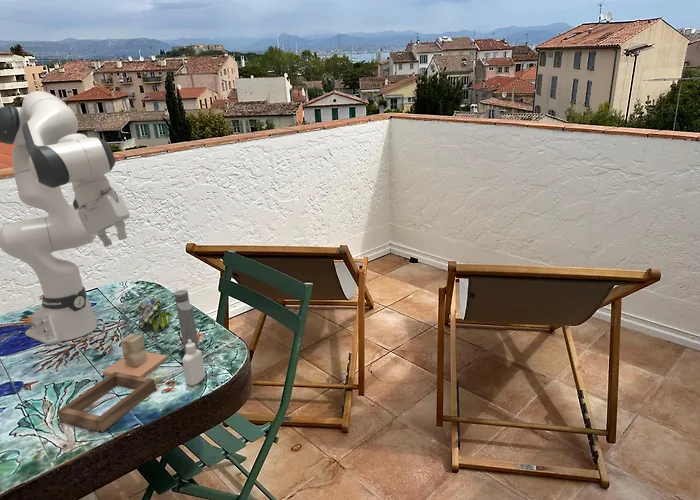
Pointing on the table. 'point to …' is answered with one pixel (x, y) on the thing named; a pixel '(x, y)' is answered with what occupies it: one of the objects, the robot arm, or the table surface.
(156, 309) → the passion flower
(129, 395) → the walnut stand
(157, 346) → the table surface
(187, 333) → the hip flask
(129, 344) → the ash post
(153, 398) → the table surface
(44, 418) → the table surface
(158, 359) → the terracotta tile
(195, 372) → the eye dropper bottle
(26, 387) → the table surface
